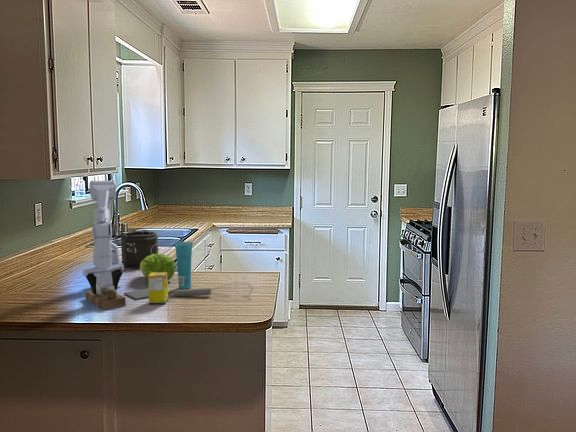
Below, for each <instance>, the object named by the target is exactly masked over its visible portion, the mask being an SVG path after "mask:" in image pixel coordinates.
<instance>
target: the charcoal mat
mask: <svg viewBox="0 0 576 432" xmlns="http://www.w3.org/2000/svg"><path fill="white" fill-rule="evenodd" d="M123 294H124V295H125V296H127V297H129V298H131V299H132V300H136V301H138V300H139V301H140V300H143V299H144V300H145V299H149V290H148V288H143V289H137V290H131V291H125V292H124V293H123Z"/></svg>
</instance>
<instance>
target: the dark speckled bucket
mask: <svg viewBox="0 0 576 432" xmlns="http://www.w3.org/2000/svg"><path fill="white" fill-rule="evenodd" d="M121 236H122V237H120V241H121V243H120V246H121V249H120V250H121V261H120V262H121V264H122V265H124V268H129V269H140V264H141V261H142V260H144V259H145V258H146V257H147V256H150V255H152V254H159V241H158V239H159V236H158V235H157V232H155V231H146V230H145V231H129V232H124V233H123V234H122V235H121Z"/></svg>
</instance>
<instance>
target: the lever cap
mask: <svg viewBox="0 0 576 432" xmlns="http://www.w3.org/2000/svg"><path fill="white" fill-rule="evenodd" d="M110 289H114V286H113V285H111V284H109V283H107V282H106V283H100V284H96V294H97V295H99V296H101V297H108V290H110Z"/></svg>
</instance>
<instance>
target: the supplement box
mask: <svg viewBox="0 0 576 432" xmlns="http://www.w3.org/2000/svg"><path fill="white" fill-rule="evenodd" d="M168 281H169V280H168V278H167V272H151V273H150V274H149V275H148V279H147V284H148V286H147V287H148V288H147V289H148V290H149V298H148V305H150V306H151V305H166V304H167V303H168V301H169V295H168V293H169V284H168V283H169V282H168Z"/></svg>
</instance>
